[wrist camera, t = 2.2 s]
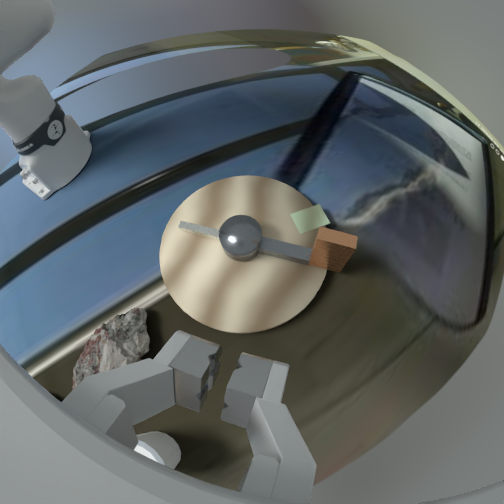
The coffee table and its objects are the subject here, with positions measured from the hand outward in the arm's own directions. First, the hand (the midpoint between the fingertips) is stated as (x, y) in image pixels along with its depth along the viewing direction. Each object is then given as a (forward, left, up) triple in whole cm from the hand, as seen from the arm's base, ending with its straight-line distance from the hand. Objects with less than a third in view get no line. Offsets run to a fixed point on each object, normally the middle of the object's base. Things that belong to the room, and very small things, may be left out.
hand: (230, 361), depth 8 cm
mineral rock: (-18, -6, -24) cm, 30 cm away
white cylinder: (-8, -16, -24) cm, 29 cm away
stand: (-6, +13, -23) cm, 28 cm away
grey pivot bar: (-4, +13, -21) cm, 26 cm away
